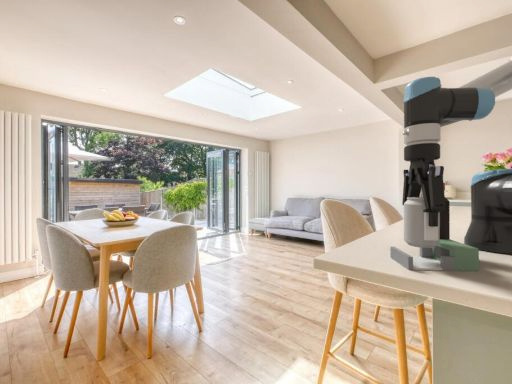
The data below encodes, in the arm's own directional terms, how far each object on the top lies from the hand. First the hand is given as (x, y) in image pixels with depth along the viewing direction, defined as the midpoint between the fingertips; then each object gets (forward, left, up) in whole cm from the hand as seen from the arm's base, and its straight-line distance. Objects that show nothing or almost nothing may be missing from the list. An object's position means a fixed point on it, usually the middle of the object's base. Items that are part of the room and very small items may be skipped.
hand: (421, 236), depth 63 cm
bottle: (-8, -9, -7) cm, 14 cm away
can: (0, 0, -2) cm, 2 cm away
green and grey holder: (-2, 0, -7) cm, 7 cm away
